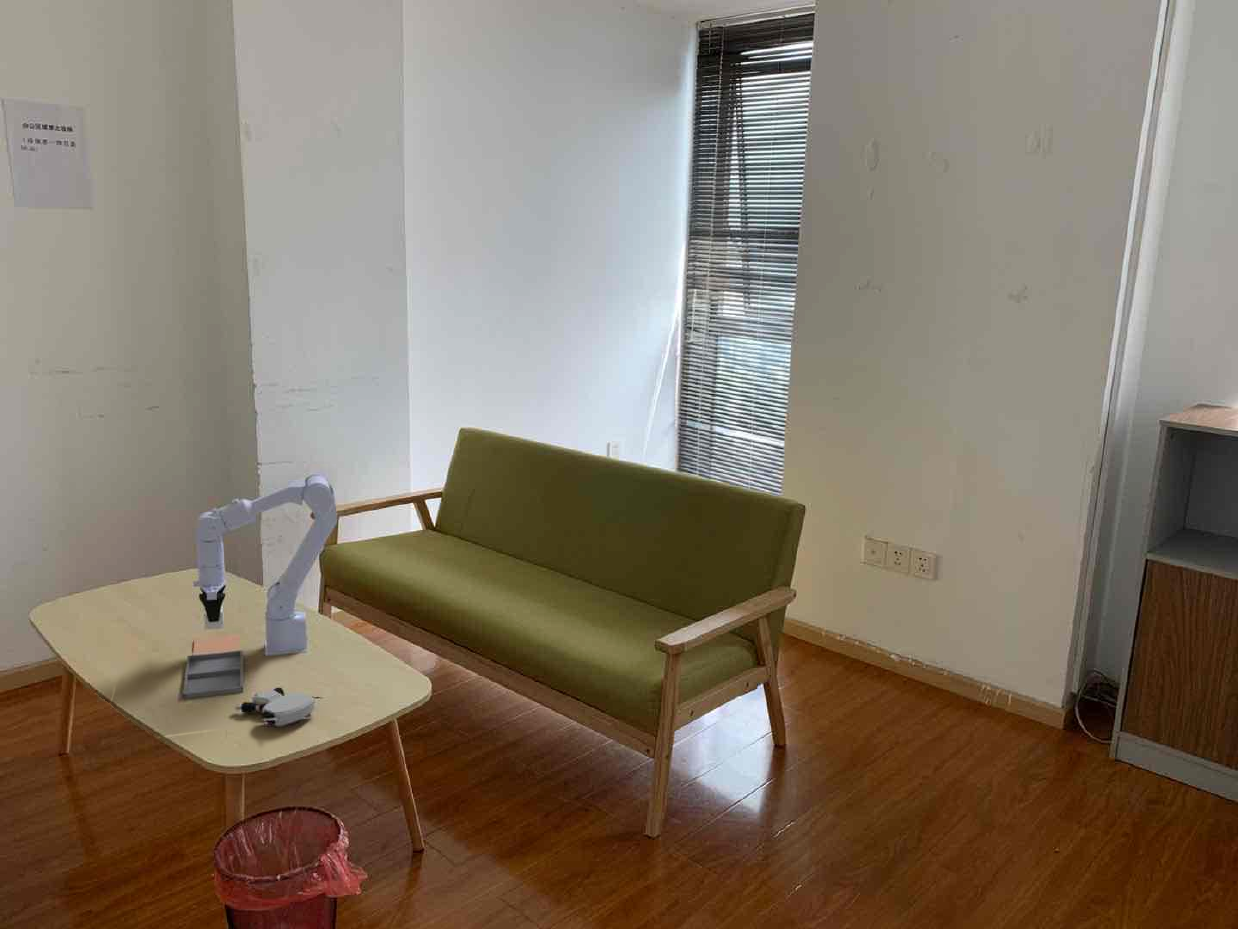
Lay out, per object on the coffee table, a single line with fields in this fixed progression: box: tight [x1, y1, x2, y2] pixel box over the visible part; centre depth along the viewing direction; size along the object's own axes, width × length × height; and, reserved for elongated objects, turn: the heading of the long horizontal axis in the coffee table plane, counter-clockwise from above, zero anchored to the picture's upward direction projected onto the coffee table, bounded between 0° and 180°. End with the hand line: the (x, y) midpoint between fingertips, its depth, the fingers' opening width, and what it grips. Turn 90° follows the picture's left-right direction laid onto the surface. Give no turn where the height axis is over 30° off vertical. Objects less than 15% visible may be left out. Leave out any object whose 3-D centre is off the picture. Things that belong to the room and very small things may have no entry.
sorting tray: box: [182, 650, 244, 700], centre depth 215 cm, size 12×20×2 cm, turn 21°
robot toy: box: [234, 687, 324, 727], centre depth 200 cm, size 12×4×15 cm
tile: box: [192, 633, 240, 655], centre depth 230 cm, size 10×10×1 cm
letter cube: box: [203, 605, 224, 631], centre depth 224 cm, size 4×4×4 cm
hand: (214, 617), depth 224 cm, fingers closed on letter cube, 4 cm apart
